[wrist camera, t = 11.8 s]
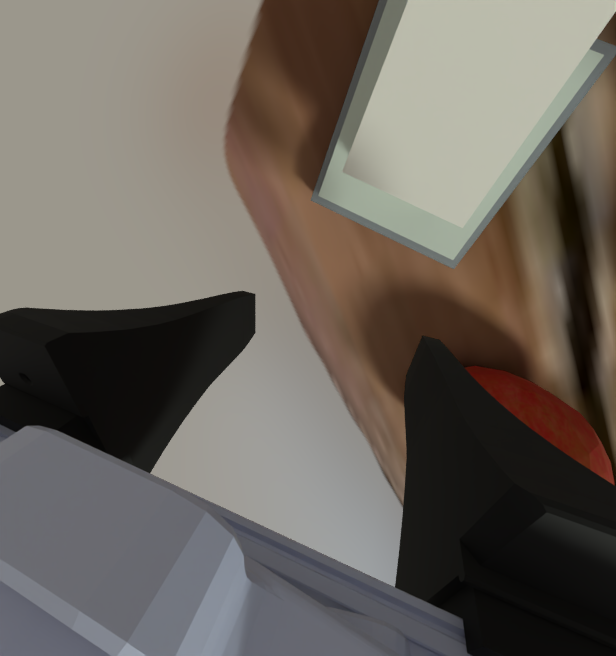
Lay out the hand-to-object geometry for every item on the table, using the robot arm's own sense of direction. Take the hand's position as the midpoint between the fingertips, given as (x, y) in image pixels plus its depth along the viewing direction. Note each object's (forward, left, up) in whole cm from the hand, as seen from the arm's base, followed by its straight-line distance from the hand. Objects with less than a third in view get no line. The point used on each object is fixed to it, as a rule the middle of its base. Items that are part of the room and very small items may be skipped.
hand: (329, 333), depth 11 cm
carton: (0, -8, -8) cm, 11 cm away
